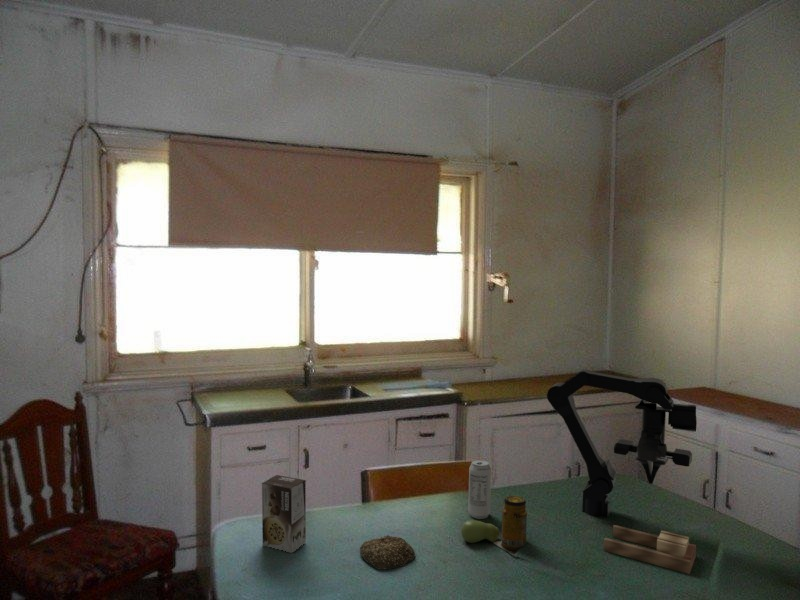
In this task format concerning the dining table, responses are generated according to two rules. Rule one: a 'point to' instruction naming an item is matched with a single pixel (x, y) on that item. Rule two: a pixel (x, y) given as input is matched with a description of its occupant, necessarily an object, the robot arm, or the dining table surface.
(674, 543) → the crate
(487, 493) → the energy drink can
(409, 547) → the bread roll
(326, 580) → the dining table surface
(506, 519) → the condiment
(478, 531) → the pear
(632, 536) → the bay
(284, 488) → the coffee box
